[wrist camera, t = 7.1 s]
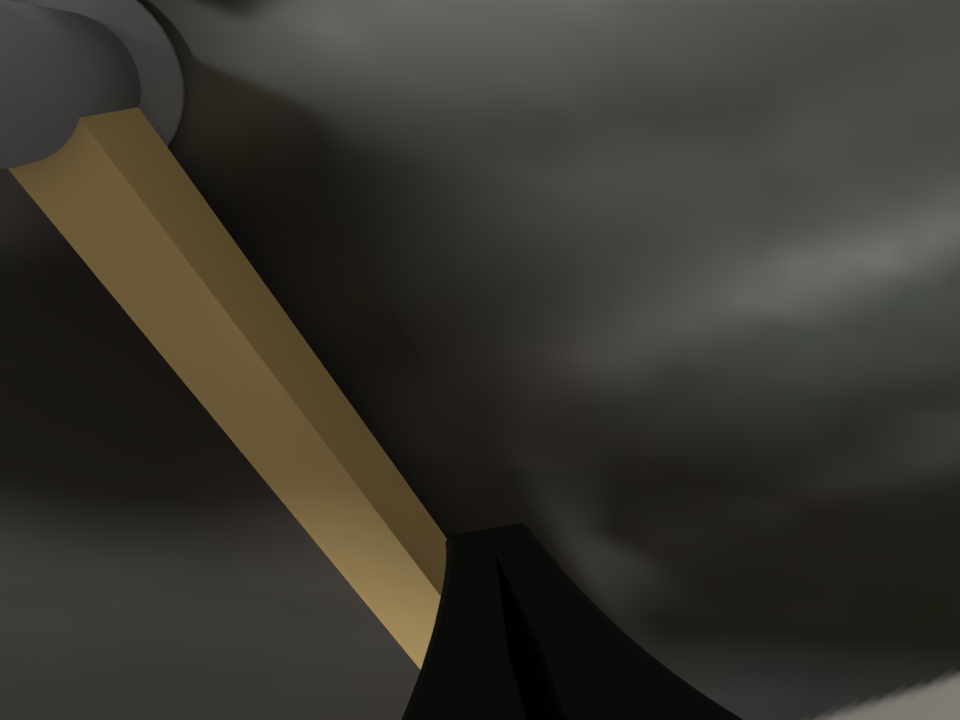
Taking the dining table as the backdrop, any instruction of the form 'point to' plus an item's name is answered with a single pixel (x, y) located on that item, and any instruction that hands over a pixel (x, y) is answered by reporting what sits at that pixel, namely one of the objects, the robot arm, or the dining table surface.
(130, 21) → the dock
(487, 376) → the dining table surface
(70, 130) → the bar
